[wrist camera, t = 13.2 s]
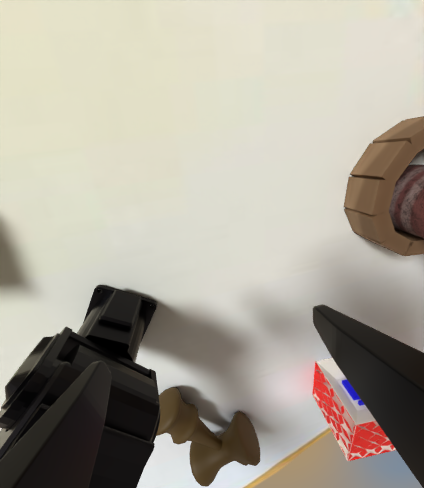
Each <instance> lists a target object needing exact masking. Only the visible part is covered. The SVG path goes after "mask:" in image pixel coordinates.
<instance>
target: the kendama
mask: <svg viewBox="0 0 424 488" xmlns="http://www.w3.org/2000/svg"><path fill="white" fill-rule="evenodd" d="M159 403H160V423H159V427H158V431H157V434H156V436H157V435H161V434H164V433H169V434H170V435H171V437H172V439H173V442H174V443H176V444H182V443H185V442H186V441H192V443H191V446H190V465H191V469H192V473H193V476H194V477H195V479H196V481H197V482H198V483H199V484H200V485H201V486H209V485H210V484H211V483H212V482H213V480H214V479H215V477H216V475H217V473H218V471H219V469H220V468H221V467H223V466H224V465H226V464H228V463H230V462H232V461H237V462H239V463H241V464H243V465H245V466H246V465H248V464H250V465H254V466H256V465H257V464H258V463H259V462H260V447H259V442H258V438H257V435H256V432H255V430H254V427H253V425H252V423H251V422H250V420H249V418H248V417H247V416H246V415H245V414H243V413H242V412H240V411H239V412H237V413H235V414H234V416H233V418H232V421H231V423H230V426H229V428H228V429H227V431H225V432H224V433H222V434H220V435H218V436H216V435H215V434H213V433H212V432H211V431H210V430H209V429H208V427H207V426H206V425H205V424H204V423H203V422H202V421H201V420H200V418H199V415H198V409H197V408H196V406H195V405H194V404H190V403H189V404H186V403H185V402H183V400H182V399H181V394H180V392H179V390H178V389H177V388H174V387H171V388H169V389H166V390H165V391H163V392H162V393H161V394H160V395H159Z"/></svg>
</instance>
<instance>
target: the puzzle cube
mask: <svg viewBox="0 0 424 488" xmlns="http://www.w3.org/2000/svg"><path fill="white" fill-rule="evenodd" d="M313 397H314V399H315V401H316V402H317V404H318V406H319V408H320V410H321V412H322V414H323V416H324V417H325V419H326V421H327V423H328V425H329V427H330V429H331V431H332V433H333V434H334V436H335V438H336V440H337V442H338V444H339V446H340V448H341V449H342V451H343V453H344V455H345V457H346V459H347V461H351V460H355V459H359V458H364V457H368V456H372V455H377V454H381V453H385V452H389V451H394V450H396V449H395V447H394V446H393V444H392V443H391V441H390V440H389V439H388V437H387V436H386V434H385V433H384V431H383V430H382V429H381V427H380V426H379V424H378V423H377V421H376V420H375V419H374V417H373V416H372V414H371V413H370V411H369V410H368V409H367V407H366V406H365V404H364V403H363V401H362V400H361V399H360V397H359V396H358V394H357V393H356V391H355V390H354V389H353V387H352V386H351V384H350V383H349V381H348V380H347V379H346V377H345V376H344V374H343V373H342V371H341V370H340V369H339V367H338V366H337V364H336V363H335V361H334V359H333V358H328V359H323V360H318V361H315V374H314V386H313Z"/></svg>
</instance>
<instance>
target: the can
mask: <svg viewBox="0 0 424 488" xmlns="http://www.w3.org/2000/svg"><path fill="white" fill-rule="evenodd" d="M389 213H390V217H391V220H392V223H393V226H394V228H395V229H398V230H401V231H404V232H407V233H410V234H413V235H416V236H419V237H422V238H424V165H410V166H407V168H406V169H405V170H404V172H403V173H402V174H401V176H400V177H399V179H398V180H397V181H396V184H395V188H394V192H393V196H392V200H391V204H390V207H389Z"/></svg>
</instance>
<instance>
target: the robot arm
mask: <svg viewBox="0 0 424 488" xmlns="http://www.w3.org/2000/svg"><path fill="white" fill-rule="evenodd" d="M98 289H101V290H102V291H99V290H98ZM151 305H154V306H151ZM156 307H157V302H156V301H153V300H150V299H147V298H143V297H140V296H137V295H134V294H130V293H127V292H124V291H120V290H117V289H113V288H110V287H107V286H103V285H98V286H96V288H95V289H94V292H93V295H92V298H91V301H90V304H89V307H88V310H87V313H86V316H85V319H84V322H83V325H82V326H81V328H80V330H79V331H78V333H77V334H76V333H74V332H72V329H70V328H68V327H65V328H64V329H63V330H62V332H61V333H60V334H58V333H57V334H56V335H54V336H53V337H44V338H43V339H42V340H41V341H40V342H39V343H38V345H37V346H36V347H35V348H34V350H33V351H32V352H31V353H30V355H29V356H28V357H27V358H26V360H25V361H24V362H23V363H22V365H21V366H20V367H19V369H18V370H17V371H16V373H15V374H14V375H13V377H12V378H11V379H10V381H9V382H8V384H7V385H6V386H5V394H6V400H5V401H4V403H3V405H2V406H1V411H0V428H2V429H1V431H0V488H136V487H137V484H138V482H139V479H140V477H141V474H142V472H143V469H144V467H145V465H146V463H147V461H148V459H149V457H150V455H151V453H152V451H153V449H154V443H153V442H154V440H155V437H156V434H157V431H158V427H159V423H160V403H159V395H158V387H157V380H156V372H155V371H153V370H151V369H147V368H145V367H143V366H141V365H139V364H137V363H135V361H136V357H137V353H138V350H139V346H140V343H141V340H142V338H143V336H144V334H145V332H146V329H147V327H148V325H149V323H150V321H151V318H152V316H153V314H154V312H155V310H156ZM313 323H314V326H315V328H316V329H317V331H318V333H319V335H320V336H321V338H322V340H323V342H324V344H325V345H326V347H327V349H328V351H329V352H330V354H331V356H332V358H333V359H334V361H335V363H336V364H337V366H338V367H339V369H340V370H341V371H342V373H343V374H344V376H345V377H346V379H347V380H348V381H349V383H350V384H351V386H352V387H353V389H354V390H355V391H356V393H357V394H358V396H359V397H360V399H361V400H362V401H363V403H364V404H365V406H366V407H367V409H368V410H369V411H370V413H371V414H372V416H373V417H374V419H375V420H376V421H377V423H378V424H379V426H380V427H381V429H382V430H383V431H384V433H385V434H386V436H387V437H388V439H389V440H390V441H391V443H392V444H393V446H394V447H395V449H396V450H397V451H398V453H399V454H400V455H401V457H402V459H403V460H404V461H405V463H406V464H407V466H408V467H409V468H410V470H411V471H412V473H413V474H414V476H415V477H416V479H417V480H418V481H419V483H420V484H421V486H422V487H423V488H424V353H423V352H421V351H419V350H417V349H415V348H412V347H410V346H408V345H406V344H404V343H402V342H400V341H398V340H396V339H394V338H392V337H390V336H388V335H386V334H384V333H381V332H379V331H377V330H375V329H373V328H371V327H369V326H367V325H365V324H363V323H361V322H359V321H357V320H355V319H352V318H350V317H348V316H346V315H344V314H342V313H340V312H338V311H336V310H334V309H332V308H330V307H328V306H326V305H318V306H314V307H313Z"/></svg>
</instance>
